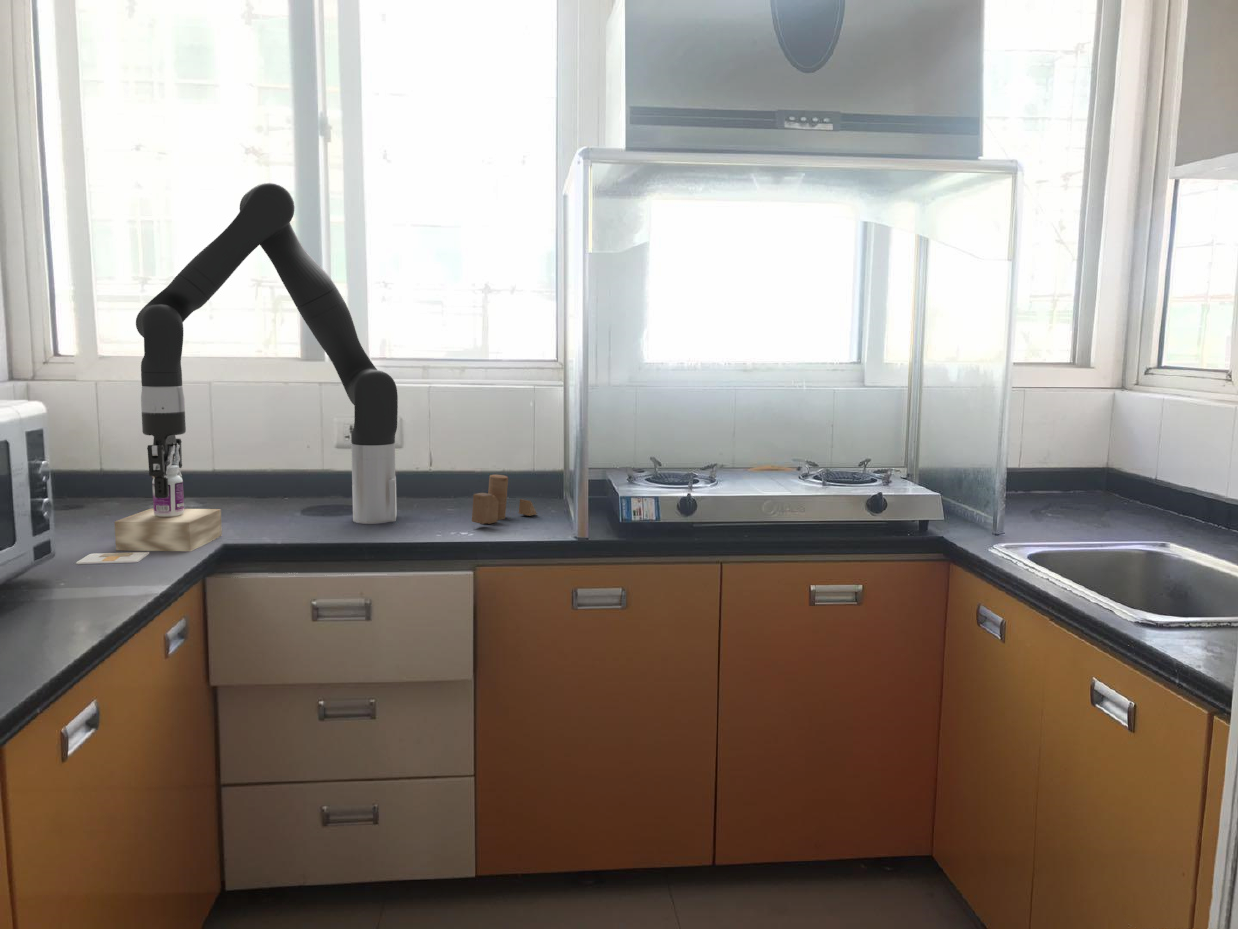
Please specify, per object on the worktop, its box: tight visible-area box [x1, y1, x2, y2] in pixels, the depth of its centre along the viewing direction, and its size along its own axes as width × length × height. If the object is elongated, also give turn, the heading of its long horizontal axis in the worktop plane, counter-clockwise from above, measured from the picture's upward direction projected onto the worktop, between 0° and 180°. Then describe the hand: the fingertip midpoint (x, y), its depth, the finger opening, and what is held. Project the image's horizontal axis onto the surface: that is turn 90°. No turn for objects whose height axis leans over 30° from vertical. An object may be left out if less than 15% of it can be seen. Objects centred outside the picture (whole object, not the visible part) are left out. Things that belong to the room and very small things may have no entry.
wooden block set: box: [471, 474, 538, 525], centre depth 204 cm, size 18×9×10 cm, turn 151°
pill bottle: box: [151, 465, 185, 517], centre depth 179 cm, size 5×5×10 cm
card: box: [75, 551, 150, 565], centre depth 166 cm, size 10×7×1 cm
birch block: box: [114, 507, 223, 552], centre depth 180 cm, size 14×14×6 cm
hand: (167, 494), depth 179 cm, fingers open, 7 cm apart
